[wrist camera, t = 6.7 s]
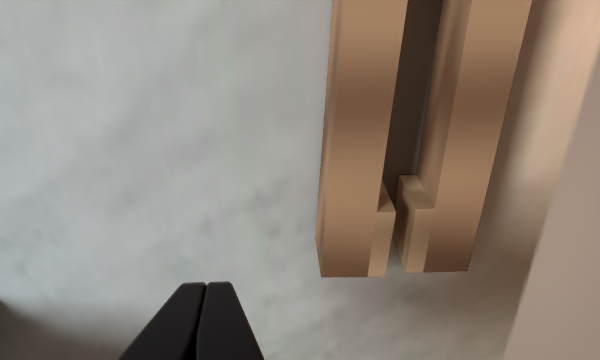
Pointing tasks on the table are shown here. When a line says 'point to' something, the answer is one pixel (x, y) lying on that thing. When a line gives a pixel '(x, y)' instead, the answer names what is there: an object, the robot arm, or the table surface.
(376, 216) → the tongs arm
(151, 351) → the robot arm
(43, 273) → the table surface
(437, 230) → the tongs fixed
